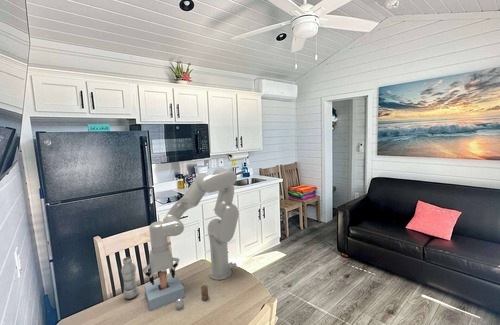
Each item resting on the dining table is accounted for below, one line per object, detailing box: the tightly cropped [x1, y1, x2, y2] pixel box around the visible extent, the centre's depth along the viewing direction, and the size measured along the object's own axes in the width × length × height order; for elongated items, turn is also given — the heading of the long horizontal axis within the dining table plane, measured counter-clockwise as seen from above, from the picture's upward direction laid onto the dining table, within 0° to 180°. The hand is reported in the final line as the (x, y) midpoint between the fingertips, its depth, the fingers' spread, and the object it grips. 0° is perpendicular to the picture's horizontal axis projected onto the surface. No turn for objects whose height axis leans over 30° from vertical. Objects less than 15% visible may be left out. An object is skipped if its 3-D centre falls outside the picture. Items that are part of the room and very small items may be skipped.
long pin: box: [158, 270, 167, 290], centre depth 122 cm, size 3×3×12 cm
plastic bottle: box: [120, 256, 139, 300], centre depth 122 cm, size 6×7×20 cm
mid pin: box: [200, 284, 209, 302], centre depth 119 cm, size 3×3×6 cm
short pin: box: [175, 297, 184, 311], centre depth 114 cm, size 3×3×4 cm
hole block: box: [143, 273, 186, 311], centre depth 123 cm, size 16×14×5 cm
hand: (163, 280), depth 122 cm, fingers open, 9 cm apart
